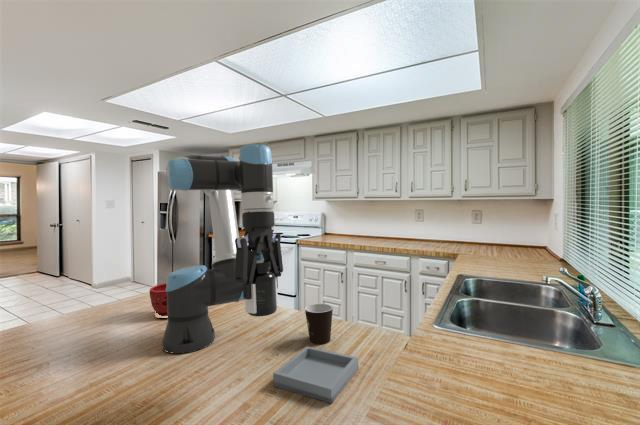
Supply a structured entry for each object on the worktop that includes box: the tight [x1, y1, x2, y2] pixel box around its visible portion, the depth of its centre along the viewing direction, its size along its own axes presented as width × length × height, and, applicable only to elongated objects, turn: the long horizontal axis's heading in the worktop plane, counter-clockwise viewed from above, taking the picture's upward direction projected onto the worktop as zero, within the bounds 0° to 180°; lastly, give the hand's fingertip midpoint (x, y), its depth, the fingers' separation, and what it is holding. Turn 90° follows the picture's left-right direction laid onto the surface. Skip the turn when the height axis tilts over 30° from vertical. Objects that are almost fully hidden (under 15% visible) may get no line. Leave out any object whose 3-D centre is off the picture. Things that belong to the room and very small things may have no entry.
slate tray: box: [272, 346, 359, 404], centre depth 74 cm, size 15×15×3 cm
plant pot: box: [149, 282, 168, 316], centre depth 122 cm, size 13×13×12 cm
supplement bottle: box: [247, 259, 278, 317], centre depth 73 cm, size 7×7×12 cm
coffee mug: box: [304, 303, 334, 346], centre depth 96 cm, size 12×9×10 cm
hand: (262, 307), depth 73 cm, fingers closed on supplement bottle, 7 cm apart
